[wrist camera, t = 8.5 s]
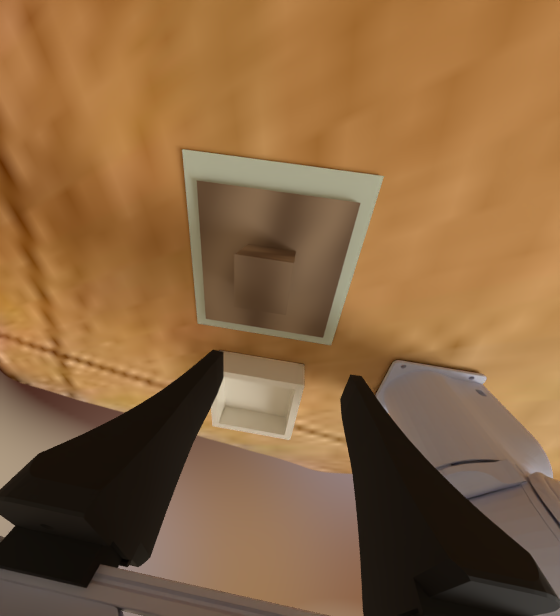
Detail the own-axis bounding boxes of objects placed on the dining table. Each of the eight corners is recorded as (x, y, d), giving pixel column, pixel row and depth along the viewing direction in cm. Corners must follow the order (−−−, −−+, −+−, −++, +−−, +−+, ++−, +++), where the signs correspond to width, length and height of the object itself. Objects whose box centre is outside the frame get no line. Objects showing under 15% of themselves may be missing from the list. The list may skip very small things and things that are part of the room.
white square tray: (304, 364, 23) (304, 385, 20) (291, 417, 28) (290, 440, 25) (219, 350, 23) (208, 368, 21) (221, 405, 28) (212, 426, 25)
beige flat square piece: (382, 176, 14) (383, 176, 14) (330, 343, 21) (331, 345, 21) (184, 150, 15) (182, 149, 14) (198, 322, 22) (197, 323, 21)
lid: (358, 202, 15) (376, 203, 11) (322, 334, 20) (326, 363, 17) (200, 181, 15) (167, 174, 11) (208, 315, 21) (187, 340, 17)
